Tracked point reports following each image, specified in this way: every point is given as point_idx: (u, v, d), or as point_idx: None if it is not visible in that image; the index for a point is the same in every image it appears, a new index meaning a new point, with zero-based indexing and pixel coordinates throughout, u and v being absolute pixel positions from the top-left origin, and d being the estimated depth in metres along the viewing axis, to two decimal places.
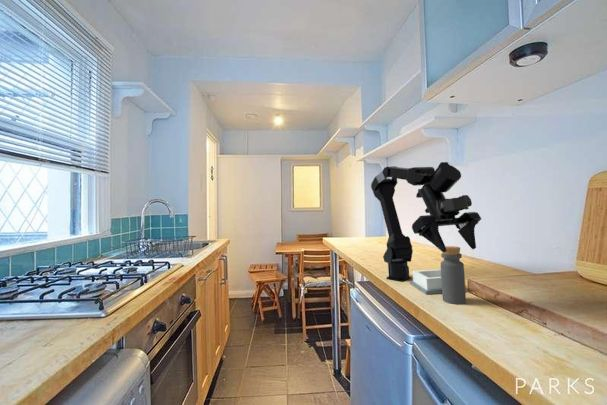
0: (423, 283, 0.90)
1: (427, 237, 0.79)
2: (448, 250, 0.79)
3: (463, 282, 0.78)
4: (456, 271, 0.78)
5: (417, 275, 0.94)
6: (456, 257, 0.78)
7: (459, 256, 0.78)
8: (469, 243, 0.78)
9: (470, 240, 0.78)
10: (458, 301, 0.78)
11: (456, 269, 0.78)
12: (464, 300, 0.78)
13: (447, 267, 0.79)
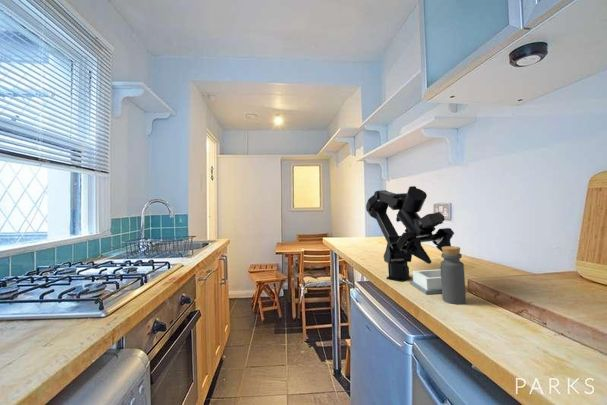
0: (423, 283, 0.90)
1: (412, 252, 0.86)
2: (448, 250, 0.79)
3: (463, 282, 0.78)
4: (456, 271, 0.78)
5: (417, 275, 0.94)
6: (456, 257, 0.78)
7: (459, 256, 0.78)
8: None
9: None
10: (458, 301, 0.78)
11: (456, 269, 0.78)
12: (464, 300, 0.78)
13: (447, 267, 0.79)
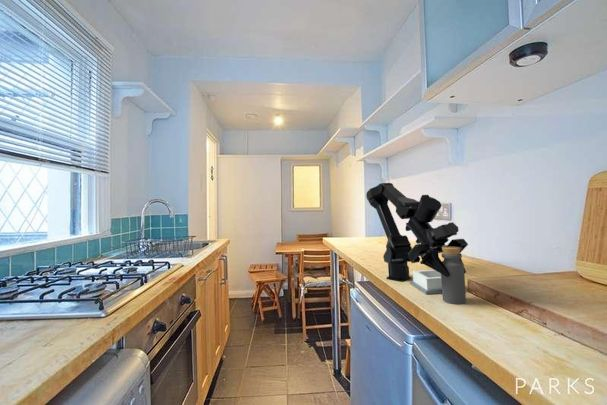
0: (423, 283, 0.90)
1: (428, 264, 0.82)
2: (448, 250, 0.79)
3: (463, 282, 0.78)
4: (456, 271, 0.78)
5: (417, 275, 0.94)
6: (456, 257, 0.78)
7: (459, 256, 0.78)
8: None
9: None
10: (458, 300, 0.78)
11: (456, 269, 0.78)
12: (464, 300, 0.78)
13: (447, 267, 0.79)
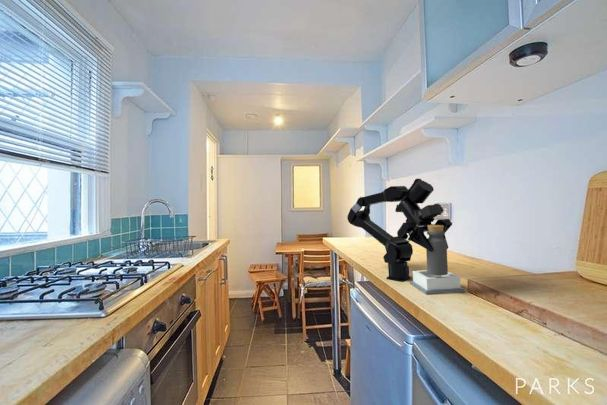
0: (423, 283, 0.90)
1: (415, 241, 0.92)
2: (432, 227, 0.88)
3: (445, 256, 0.87)
4: (439, 246, 0.87)
5: (417, 275, 0.94)
6: (439, 234, 0.87)
7: (442, 233, 0.87)
8: None
9: None
10: (440, 272, 0.87)
11: (439, 244, 0.87)
12: (446, 272, 0.88)
13: (431, 243, 0.88)
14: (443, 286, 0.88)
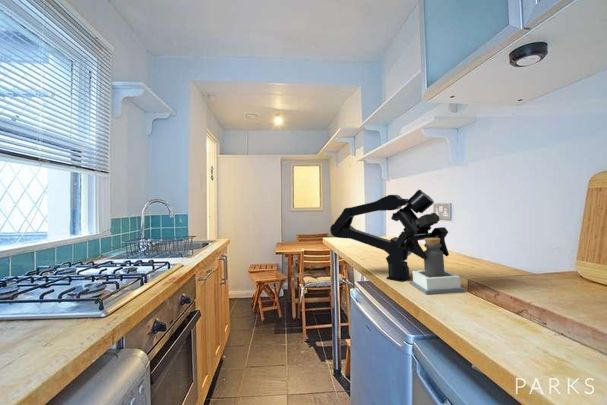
0: (423, 283, 0.90)
1: (409, 249, 0.94)
2: (430, 240, 0.92)
3: (442, 268, 0.91)
4: (436, 258, 0.90)
5: (417, 275, 0.94)
6: (436, 246, 0.91)
7: (439, 245, 0.91)
8: (443, 252, 0.95)
9: (443, 249, 0.95)
10: None
11: (436, 256, 0.90)
12: None
13: (429, 255, 0.92)
14: (443, 286, 0.88)
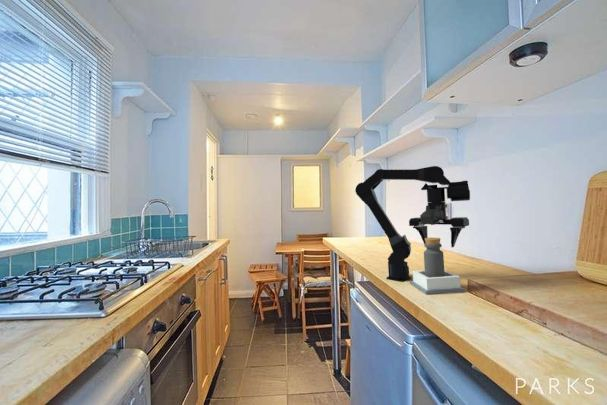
0: (423, 283, 0.90)
1: None
2: (430, 240, 0.92)
3: (442, 268, 0.91)
4: (436, 258, 0.90)
5: (417, 275, 0.94)
6: (436, 246, 0.91)
7: (439, 245, 0.91)
8: None
9: None
10: None
11: (436, 256, 0.90)
12: None
13: (429, 255, 0.92)
14: (443, 286, 0.88)
